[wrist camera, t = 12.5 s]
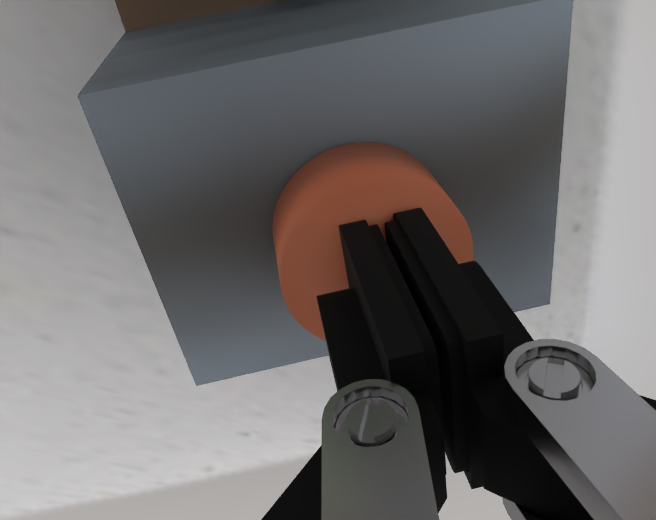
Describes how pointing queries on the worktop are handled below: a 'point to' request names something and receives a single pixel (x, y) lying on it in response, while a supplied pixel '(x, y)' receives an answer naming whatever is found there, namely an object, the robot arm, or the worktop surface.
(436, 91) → the rail stand
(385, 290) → the robot arm
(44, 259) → the worktop surface
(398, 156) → the button
